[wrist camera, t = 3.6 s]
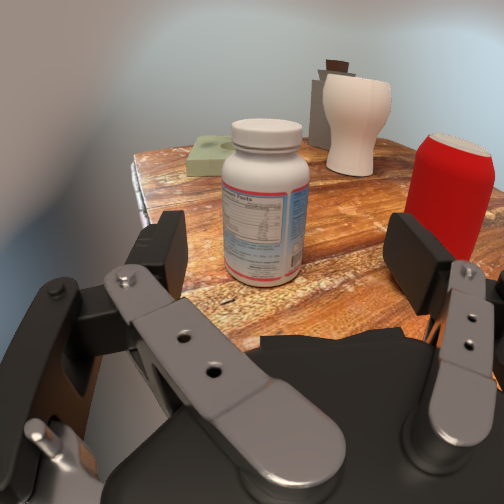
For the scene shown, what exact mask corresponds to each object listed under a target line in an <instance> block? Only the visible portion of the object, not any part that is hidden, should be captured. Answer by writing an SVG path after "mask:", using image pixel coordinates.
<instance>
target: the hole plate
mask: <svg viewBox="0 0 504 504" xmlns="http://www.w3.org/2000/svg"><path fill="white" fill-rule="evenodd" d="M231 138H232V136H199V137H198V139H197V141H196V143H195V145H194V146H193V148H192V150H191V152H190V154H189V156H188V158H187V159H186V166H187V177H189V176H222V167H223V164H224V162H225V160H226V159H227V158H228V157H229V156H230V155H232V154H233V153H235V152H236V148H234V147H233V145H232V143H233V142H232V141H231ZM297 155H298V153H297Z"/></svg>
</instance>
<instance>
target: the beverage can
mask: <svg viewBox="0 0 504 504" xmlns="http://www.w3.org/2000/svg"><path fill="white" fill-rule="evenodd" d="M494 181H495V171H494V166H493V162H492V158H491V155H490V154H489V152H488V151H487V150H486V149H484V148H483V147H481V146H479V145H476V144H474V143H471V142H469V141H466V140H463V139H460V138H457V137H453V136H450V135H446V134H440V133H433V134H432V135H428V137H427V138H426V139H425V140H424V142H423V143H422V144H421V145H420V146H419V148H418V150H417V152H416V156H415V162H414V167H413V173H412V178H411V183H410V188H409V192H408V197H407V201H406V206H405V210H404V213H410V214H412V215H413V216H414V217H415V218H416V219H417V220H418V221H419V222H420V223H421V224H422V225H423V227H425V228H426V229H428V230H429V231H431V232H432V233H433V234H434V235H435V236H436V238H437V240H439V241H440V242H441V243H442V245H443V246H445V247H446V248H447V250H448V251H449V252H450V253H451V254H452V255H453V256H454V257H455V259H456V260H466V261H469V260H470V257H471V254H472V252H473V249H474V246H475V243H476V241H477V238H478V235H479V232H480V229H481V226H482V223H483V220H484V217H485V213H486V210H487V207H488V203H489V200H490V196H491V193H492V189H493V185H494ZM394 279H395V278H394ZM395 280H396V279H395ZM396 282H397V281H396Z"/></svg>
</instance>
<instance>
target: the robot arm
mask: <svg viewBox="0 0 504 504" xmlns="http://www.w3.org/2000/svg"><path fill="white" fill-rule="evenodd" d="M383 259H384V262H385V263H386V265H387V267H388V268H389V270H390V271H391V273H392V275H393V276H394V278H395V279H396V281H397V283H398V284H399V286H400V288H401V289H402V291H403V293H404V294H405V296H406V298H407V299H408V301H409V303H410V304H411V306H412V308H413V310H414V311H415V313H416V315H417V316H419V315H428V314H430V315H431V316H430V318H429V320H428V323H427V326H426V329H425V333H424V336H423V340H422V341H421V340H418V339H414V338H409V337H405V335H404V333H403V331H402V329H401V327H395V328H385V329H374V330H368V331H365V332H362V333H359V334H356V335H352V336H349V337H346V338H343V339H338V340H334V339H326V338H318V337H311V336H303V335H279V336H260V347H259V348H255V349H252V350H249V351H246V352H242V351H241V350H240V349H239V348H238V347H237V346H236V345H235V344H233V343H232V342H231V341H230V340H229V339H228V338H227V337H226V336H225V335H224V334H223V333H222V332H221V331H220V330H219V329H218V328H217V327H216V326H215V325H214V324H213V323H212V322H211V321H210V320H209V319H208V318H207V317H206V316H205V315H204V314H203V313H202V312H201V311H200V310H199V309H198V308H197V307H196V306H195V305H194V304H193V303H192V302H191V301H190V300H189V299H187V298H186V297H182V298H180V296H181V292H182V287H183V282H184V277H185V273H186V268H187V263H188V245H187V235H186V224H185V214H184V211H183V210H178V211H163V213H162V215H161V217H160V219H159V221H158V224H149V225H148V226H147V227H145V228H144V229H143V230H142V231H141V232H140V234H139V236H138V238H137V240H136V242H135V244H134V247H133V248H132V250H131V252H130V254H129V256H128V258H127V260H126V262H125V264H124V265H122V266H119V267H117V268H115V269H113V270H111V271H110V272H109V273H108V274H107V275H106V276H105V279H104V284H103V285H100V286H96V287H91V288H86V289H81V290H80V289H79V286H78V284H77V281H76V280H74V279H73V278H69V277H61V278H56V279H53V280H51V281H49V282H47V283H46V284H45V285H44V286H42V287H41V288H40V290H39V291H38V293H37V295H36V296H35V298H34V300H33V302H32V304H31V305H30V307H29V309H28V310H27V312H26V314H25V316H24V318H23V320H22V321H21V323H20V325H19V327H18V329H17V331H16V333H15V335H14V337H13V339H12V341H11V343H10V345H9V347H8V349H7V351H6V353H5V355H4V357H3V360H2V362H1V364H0V504H504V270H503V271H502V272H501V274H500V276H499V278H498V280H497V281H495V280H490V279H485V274H484V272H483V271H482V270H481V269H480V268H479V267H478V266H477V265H475V264H473V263H471V262H469V261H466V260H456V259H455V257H454V256H453V255H452V254H451V253H450V252H449V251H448V250H447V248H446V247H445V246H443V245H442V243H441V242H440V241H439V240H437V238H436V236H435V235H434V234H433V233H432V232H431V231H429V230H428V229H426V228H425V227H423V225H422V224H421V223H420V222H419V221H418V220H417V219H416V218H415V217H414V216H413V215H412V214H410V213H392V215H391V216H390V220H389V224H388V228H387V233H386V237H385V241H384V245H383ZM125 350H126V351H127V353H128V355H129V356H130V358H131V359H132V361H133V363H134V364H135V366H136V367H137V369H138V371H139V372H140V374H141V375H142V377H143V378H144V380H145V381H146V383H147V384H148V386H149V387H150V389H151V390H152V392H153V394H154V396H155V397H156V399H157V401H158V403H159V405H160V407H161V408H162V410H163V411H164V413H165V414H166V416H167V417H168V420H167V421H166V422H165V423H163V424H162V425H161V426H160V427H159V428H158V429H157V430H156V431H155V432H154V433H153V434H152V435H151V436H150V437H149V438H148V439H147V440H145V441H144V442H143V443H142V444H141V445H140V446H139V447H138V448H137V449H136V450H135V451H134V452H132V453H131V454H130V455H129V456H128V457H127V458H126V459H125V460H124V461H123V462H121V463H120V464H119V465H118V466H117V467H116V468H115V469H114V470H113V471H112V473H111V474H110V475H109V477H108V478H107V480H106V482H105V483H103V482H100V480H99V477H98V474H97V462H96V458H95V456H94V453H93V452H92V451H91V449H90V448H89V447H88V446H87V445H86V444H85V443H84V442H83V441H84V436H85V430H86V425H87V420H88V416H89V411H90V407H91V402H92V398H93V393H94V389H95V385H96V381H97V377H98V372H99V369H100V365H101V361H102V358H103V355H106V354H111V353H116V352H121V351H125ZM492 371H493V373H494V375H495V377H496V379H497V381H498V383H499V385H500V387H501V389H502V391H501V390H499V389H498V388H497V382H496V380H495V379H493V378H492Z"/></svg>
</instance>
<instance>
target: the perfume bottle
mask: <svg viewBox="0 0 504 504" xmlns="http://www.w3.org/2000/svg"><path fill="white" fill-rule="evenodd" d="M348 66H349V63H348V62H343V61H337V60H326V70H318V73H319V77H320V80H312V92H311V109H310V126H309V139H308V145H311V146H315V147H318V148H322V149H325V150H329V151H330V148H331V128H330V125H329V123H328V120H327V118H326V115H325V111H324V106H323V102H322V100H323V88H324V85H325V81H326V78H327V75H328V74H335V75H343V76H351V77H355V75H356V74H351V73H347V72H348Z"/></svg>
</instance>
